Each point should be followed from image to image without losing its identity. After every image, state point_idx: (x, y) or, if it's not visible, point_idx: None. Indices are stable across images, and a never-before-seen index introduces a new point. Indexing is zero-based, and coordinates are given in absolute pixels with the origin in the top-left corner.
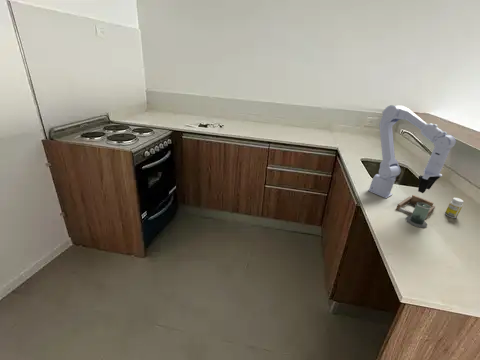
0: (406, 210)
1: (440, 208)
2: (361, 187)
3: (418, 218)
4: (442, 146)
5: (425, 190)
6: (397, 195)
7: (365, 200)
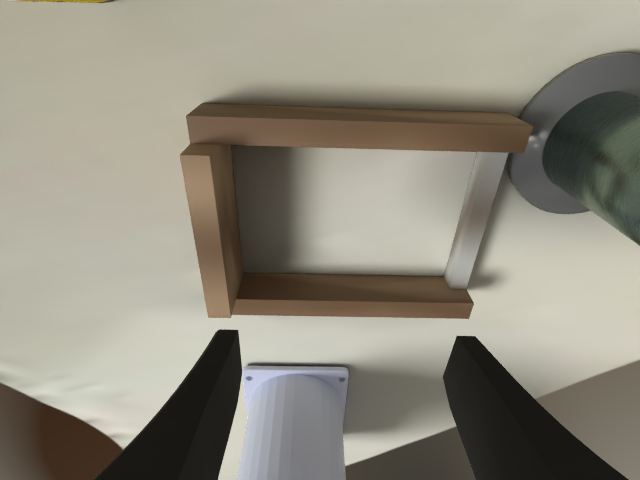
0: (471, 249)
1: (42, 70)
2: None
3: None
4: None
5: (478, 364)
6: None
7: None
